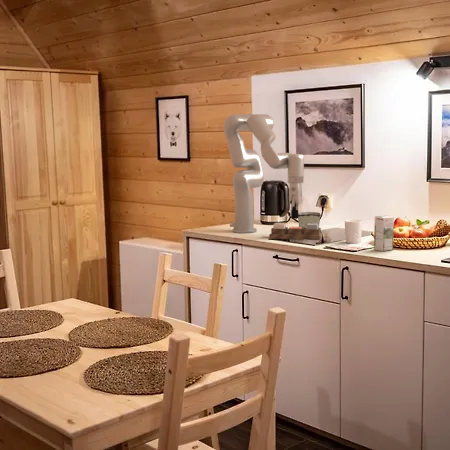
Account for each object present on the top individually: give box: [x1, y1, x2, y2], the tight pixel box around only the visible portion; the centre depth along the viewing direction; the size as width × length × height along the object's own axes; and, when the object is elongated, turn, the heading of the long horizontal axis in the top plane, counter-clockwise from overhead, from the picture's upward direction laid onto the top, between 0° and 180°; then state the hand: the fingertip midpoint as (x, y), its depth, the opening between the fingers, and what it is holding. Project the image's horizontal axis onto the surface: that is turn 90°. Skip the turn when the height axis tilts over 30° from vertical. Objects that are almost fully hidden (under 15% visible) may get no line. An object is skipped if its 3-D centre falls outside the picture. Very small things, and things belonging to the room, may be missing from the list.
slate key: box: [307, 223, 320, 229], centre depth 328 cm, size 5×5×3 cm
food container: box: [297, 211, 322, 229], centre depth 349 cm, size 12×6×10 cm, turn 84°
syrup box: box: [373, 215, 395, 252], centre depth 291 cm, size 6×6×14 cm
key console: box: [268, 226, 323, 241], centre depth 331 cm, size 24×10×5 cm, turn 74°
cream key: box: [273, 222, 287, 229], centre depth 333 cm, size 5×5×3 cm
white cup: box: [344, 219, 363, 244], centre depth 313 cm, size 8×8×10 cm
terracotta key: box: [289, 226, 302, 229], centre depth 331 cm, size 5×5×3 cm
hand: (294, 218), depth 330 cm, fingers closed
